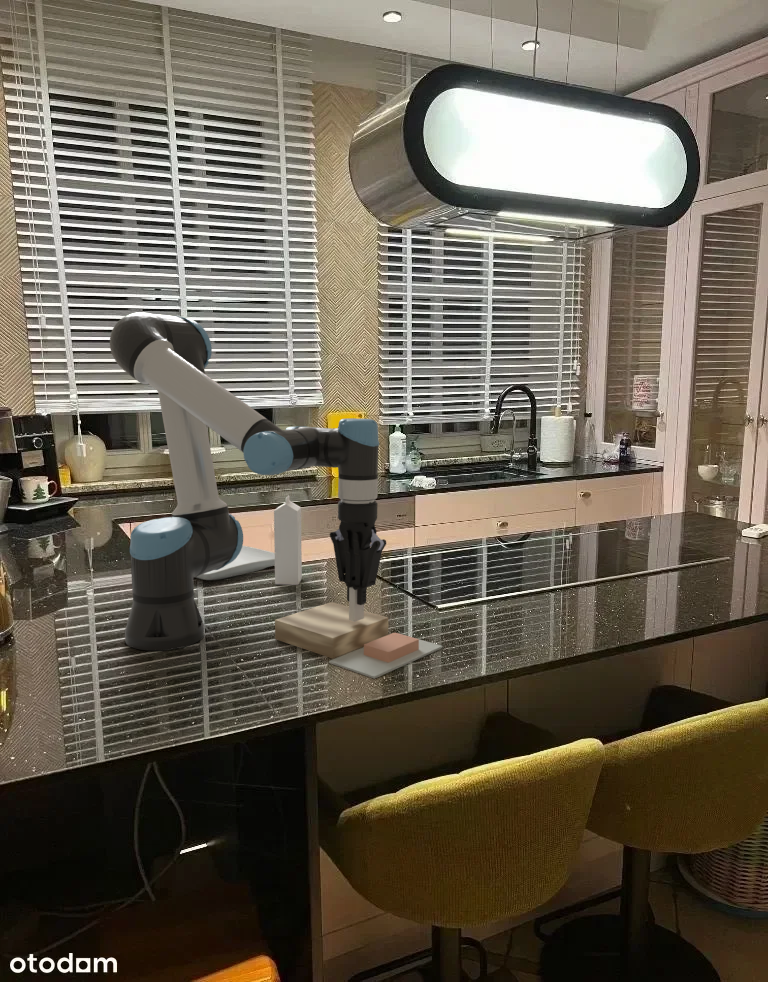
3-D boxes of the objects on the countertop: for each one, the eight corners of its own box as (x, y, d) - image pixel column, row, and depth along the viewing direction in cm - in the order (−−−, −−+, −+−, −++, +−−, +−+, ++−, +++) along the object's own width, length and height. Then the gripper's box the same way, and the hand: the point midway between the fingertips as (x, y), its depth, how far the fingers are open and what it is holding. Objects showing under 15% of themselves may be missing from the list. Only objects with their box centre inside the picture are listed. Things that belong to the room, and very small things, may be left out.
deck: (332, 658, 139) (332, 637, 139) (275, 639, 150) (274, 619, 149) (388, 636, 151) (388, 617, 151) (331, 620, 162) (331, 602, 161)
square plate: (289, 568, 207) (288, 554, 207) (205, 588, 187) (205, 573, 186) (229, 552, 225) (228, 540, 225) (147, 569, 205) (146, 555, 204)
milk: (275, 584, 189) (272, 498, 186) (279, 578, 195) (277, 494, 192) (299, 584, 189) (297, 498, 186) (302, 578, 195) (300, 494, 192)
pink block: (363, 644, 140) (363, 654, 140) (388, 652, 136) (388, 662, 137) (394, 632, 147) (394, 642, 147) (418, 639, 143) (418, 649, 143)
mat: (374, 678, 130) (374, 676, 130) (329, 663, 137) (329, 660, 137) (442, 647, 145) (442, 645, 145) (398, 635, 152) (398, 633, 152)
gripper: (396, 502, 142) (394, 622, 145) (346, 494, 150) (345, 607, 154) (370, 506, 136) (368, 631, 140) (319, 498, 145) (319, 616, 148)
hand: (356, 619), depth 147 cm, fingers closed
